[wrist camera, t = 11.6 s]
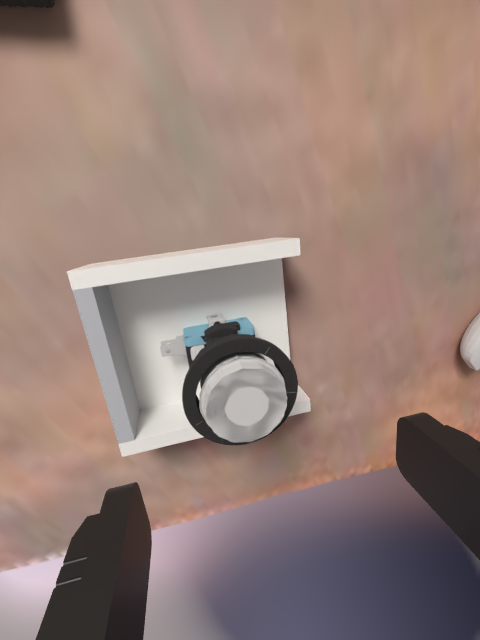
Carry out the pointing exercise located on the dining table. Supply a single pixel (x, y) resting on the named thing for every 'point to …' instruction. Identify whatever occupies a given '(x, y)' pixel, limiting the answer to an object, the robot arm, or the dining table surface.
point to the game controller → (471, 344)
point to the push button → (233, 381)
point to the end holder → (174, 326)
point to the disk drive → (27, 3)
